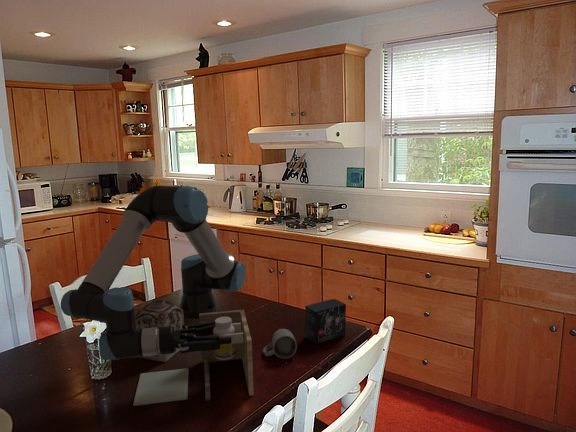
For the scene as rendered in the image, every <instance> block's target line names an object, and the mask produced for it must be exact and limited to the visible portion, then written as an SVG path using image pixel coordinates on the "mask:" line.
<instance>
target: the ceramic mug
mask: <svg viewBox="0 0 576 432" xmlns="http://www.w3.org/2000/svg"><path fill="white" fill-rule="evenodd" d="M270 349H271V350H270ZM297 349H298V346H297V341H296V338H295V336H294V335H293V332H292V331H290V330H289V329H286V328H279V329H277V330H276V331H274V333H273V335H272V339H271V342H270V343H268V344H267V345H266V346H265V347H264V348H263V349H262V353H263V354H264V356H265V357H270V356H272V355H275V356H276V357H277V358H279V359H284V360H287V359H289V358H292V357H293V356H294V355H295V354H296V352H297Z"/></svg>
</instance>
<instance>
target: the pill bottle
mask: <svg viewBox="0 0 576 432" xmlns="http://www.w3.org/2000/svg"><path fill="white" fill-rule="evenodd" d="M231 324H232V320H231V318H230V317H220V318H217V319H216V320H215V327H214V329H213V337H220V335H223V334H233V333H235V329H234V327H233V326H232V325H231ZM214 355H215V357H216V358H217V359H219V360H227V361H229V360H228V359H231V358H233V357H234V356H235V355H236V347H235V344H226V345H220V349H217V350H214Z"/></svg>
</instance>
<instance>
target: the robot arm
mask: <svg viewBox="0 0 576 432" xmlns="http://www.w3.org/2000/svg"><path fill="white" fill-rule="evenodd" d="M208 203H209V202H208V198H207V196H206V194H205V193H204V191H203V189H200V188H199V187H196V186H189V185H153V186H150V187H148V188H146V189H144V190H143V191H141V192H140V193H138V194H137V195H136V196H135V197H134V198H132V200H131V201H130V202H129V204H128V205H127V206H126V207H125V208H124V211H123V212H122V220H121V221H120V223H119V225H118V226H117V227H116V229H115V230H114V232H113V233H112V235H111V237H110V239H108V242H107V243H106V244H105V246H104V248H103V249H102V251H101V252H100V254H99V255H98V257H97V258H96V260H95V262H94V263H93V265H92V266H91V268H90V269H89V271H88V272H87V274H86V275H85V276H84V279H83V280H82V281H81V284H79V286H78V288H77V289H70V290H68V291H67V292H65V293H64V294H63V295H62V297H61V300H60V309H61V311H62V313H63V314H64V315H65V316H69V317H72V318H75V319H83V320H89V321H90V320H91V321H95V322H101V323H105V327H106V331H105V332H102V333H101V334H100V336H99V339H98V352H99V357H100V358H101V359H102V360H104V361H111V360H112V361H113V360H117V361H119V360H124V359H132V358H140V357H142V356H149V357H151V355H158V354H159V352H160V353H161V354H171V353H174V350H175V348H180V349H181V350H180V354H187V353H192V352H194V353H195V352H201V351H208V350H217V349H220V345H226V344H235V343H243V333H238V332H241V323H232V324H231V325H232V326H233V327H234V329H235V333H233V334H223V335H220V337H213V336H207V335H211V334H213V329H214V327H215V322H208V323H200V322H199V323H193V324H184V325H182V329H180V330H177V331H174V328H173V326H165V327H161V328H160V329H158V328H157V327H153V328H144V329H136V324H135V316H136V314H135V311H136V310H135V301H134V296H133V291H132V290H131V289H130V288H129V287H126V286H122V287H119V286H118V287H112V285H113V284H114V282H115V280H116V278H117V277H118V276H119V273H120V272H121V270H122V269H123V267H124V265H125V264H126V262H127V260H129V257H130V256H131V254H132V251H134V248H135V247H136V245H137V244H138V242H139V241H140V239H141V237H142V236H143V233H144V232H145V231H148V230H149V229H151V227H152V225H153V224H154V223H155V222H158V221H159V222H167V223H168V222H169V223H171V224H172V226H173V227H174V228H175V230H176V231H177V232H179V233H181V234H182V233H183V234H184V235H185V237H186V238H187V239H188V241H189V242H190V243H191V245H192V246H193V247H192V248H194V250H195V251H196V252H197V254H193V255H188V256H186V257H184V258H183V259H182V260H181V265H180V271H181V285H182V286H181V287H182V296H181V300H180V303H179V305H178V306H179V307H180V308H181V309H182V310H183V315H184V318H192V319H193V318H194V319H195V318H196V319H197V318H199V314H200V313H211V312H218V303H217V300H216V299H215V296H214V293H213V290H219V291H227V292H230V293H231V292H238V291H239V290H241V289H242V287H243V286H244V283H245V282H246V281H245V280H246V275H247V274H246V273H247V269H246V268H247V267H246V264H245V263H244V262H243V261H237V260H236V259H235V258H234V256H233V255H232V254H230V253H229V252H227V251H226V250H225V248H224V247H223V246H222V244H221V242H220V240H219V239H218V238H217V236H216V234H215V232H214V231H213V229H212V228H211V225H210V224H209V223H208V221H207V216H208V213H209V205H208Z"/></svg>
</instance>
